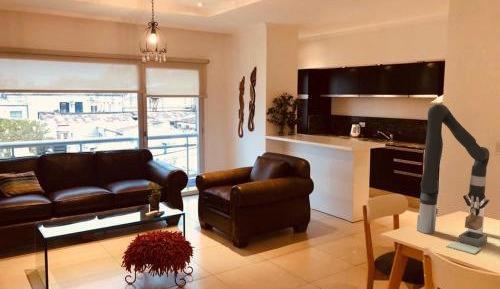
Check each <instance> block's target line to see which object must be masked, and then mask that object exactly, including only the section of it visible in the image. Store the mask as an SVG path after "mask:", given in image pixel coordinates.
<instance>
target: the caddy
mask: <svg viewBox="0 0 500 289" xmlns="http://www.w3.org/2000/svg"><path fill="white" fill-rule="evenodd" d="M476 209H477V208H476V207H475V208H473V209H471V214H470V215H469V214H468V215H467V216H465V222H464V228H466V229H468V228H469V229H473V230H478V229H480V228H481V227H482V221H483V217H482V216H478V215H474V213H475V212H476Z"/></svg>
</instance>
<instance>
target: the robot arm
mask: <svg viewBox="0 0 500 289" xmlns="http://www.w3.org/2000/svg"><path fill="white" fill-rule="evenodd" d="M442 125H445V126H446V128H448V129H449V131H450V132H451V134H452V135H453V137H454V138H455V140H456V141H457V142H458V143H459V144H460V145H461V146H462V147H463V148H465V151H466V152H467V153H468V155H469V156H470V157H471V158H472V159H473V160H474V163H473V164H472V166H471V173H470V178H469V179H470V180H469V188H468V193H467V194H464V195H463V196H462V198H463V200H464V202H465V203H466V206H467V207H469V209H470V213H471V209H473V208H474V205H475V202H476V205H477V206H476V208H477V209H476V213H475V215H478V214H479V213H480V209H482V208H484V207H485V208H486V206H487V205H488V203H490V199H489V198H487V197H486V194H485V193H486V186H487V170H488V169H487V168H488V164H489V160H490V151H489V149H488V148H487V147H484V146H480V145H479V144H478V142H477V139H476V138H475V137H474V136H473V135H472V134H471V133H470V132H469V131H468V130H467V129H465V127H463V125H462V124H461V123H460V122H459V121H458V120H457V119H456V118H455V116H454V115H453V113H451V111H450V109H449V108H448V107H447V106H446V105H444V104H441V103H439V104H433V105H431V106H430V107H429V109H428V111H427V129H426V136H425V144H424V145H425V146H424V154H423V174H422V177H421V182H420V195H419V196H420V197H419V214H417V222H416V223H417V224H416V231H418V232H420V233H422V234H430V235H431V234H432V235H433V234H435V233H436V224H437V207H438V196H439V180H438V173H439V167H440V163H441V159H442V155H443V148H444V142H443V136H442ZM470 200H471V203H470ZM482 200H484V203H483V204H482V206H481V201H482Z"/></svg>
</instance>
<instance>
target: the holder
mask: <svg viewBox="0 0 500 289" xmlns="http://www.w3.org/2000/svg"><path fill="white" fill-rule="evenodd" d="M458 242H460V243H463V244H466V245H470V246H474V247H478V248H481V247H482V246H484V245H485V244H486V243H488V234H485V233H477V232H473V231H469V230H468V229H467V230H465V231H464V232H462V233H461V234H459V235H458Z"/></svg>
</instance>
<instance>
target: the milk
mask: <svg viewBox="0 0 500 289" xmlns="http://www.w3.org/2000/svg"><path fill="white" fill-rule="evenodd" d="M469 201H470V203H471V199H469ZM483 203H484V199H483V200H482V201H481V206H482V204H483ZM476 206H477V205H476V202H475V205H474V208H475V207H476ZM485 208H486V206H485V207H484V208H482V209H480V213H479V214H478V216H482V217H483V221H482V227H481V228H480V229H478V230H473V229H469V228H467V230H469V231H473V232H477V233H481V234H484V233H483V232H484V221H485ZM475 213H476V212H475ZM475 213H474V215H475ZM470 214H471V213H470V208H469V209H468V216H469V215H470Z"/></svg>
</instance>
